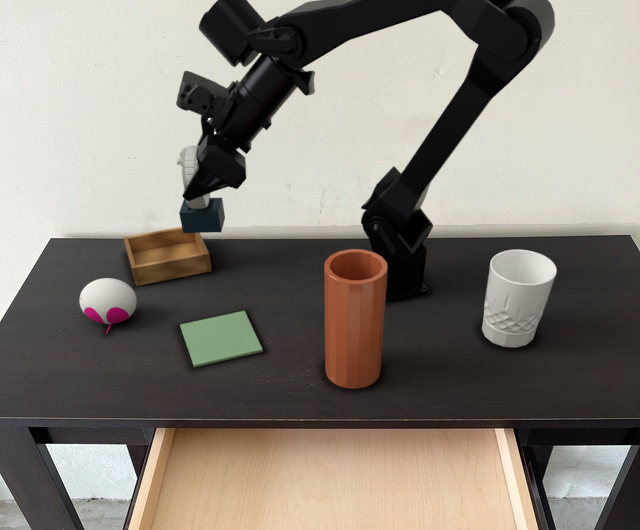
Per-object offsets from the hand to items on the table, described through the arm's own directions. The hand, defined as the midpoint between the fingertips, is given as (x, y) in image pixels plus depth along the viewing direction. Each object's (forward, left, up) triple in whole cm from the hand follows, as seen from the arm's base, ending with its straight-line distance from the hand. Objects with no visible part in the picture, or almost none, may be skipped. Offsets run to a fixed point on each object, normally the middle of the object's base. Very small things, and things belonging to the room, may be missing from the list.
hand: (187, 184), depth 91 cm
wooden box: (+4, -1, -12) cm, 13 cm away
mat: (+1, +20, -12) cm, 23 cm away
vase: (-13, +32, -12) cm, 36 cm away
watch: (-1, 0, -6) cm, 7 cm away
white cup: (-35, +32, -12) cm, 48 cm away
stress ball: (+14, +11, -12) cm, 22 cm away
